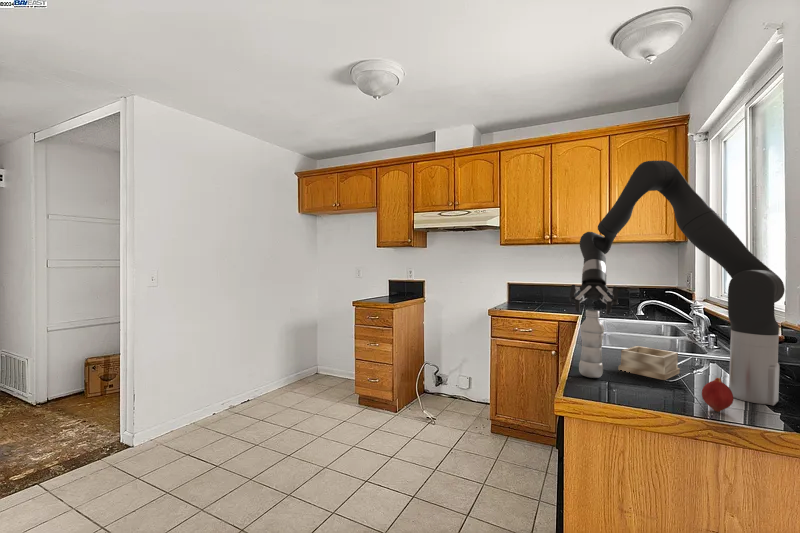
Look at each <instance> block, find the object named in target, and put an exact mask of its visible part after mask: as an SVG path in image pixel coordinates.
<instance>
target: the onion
mask: <svg viewBox="0 0 800 533" xmlns="http://www.w3.org/2000/svg"><path fill="white" fill-rule="evenodd" d="M701 396H702V400H703V401H704V403H705V404H707V405H708V406H709V407H710V408H711V409H712V410H713V411H715V412H722V411H724V410H725V409H727V408H729V407H731V406H732V405H733V402H734V397H733V394H732V391H731V390H730V388H729V385H727V384H726V383H724V382H723V381H722V379H721V378H720V377H715V379H714V380H712V381H710V382H707V383H705V384H704V386H703V387H702V390H701Z"/></svg>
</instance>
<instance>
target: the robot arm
mask: <svg viewBox="0 0 800 533" xmlns="http://www.w3.org/2000/svg"><path fill="white" fill-rule="evenodd" d="M655 191H656V192H659V193H660V194H661V195H662V196H663V197H664V198H665V199H666V200H667V201H668V203H669V204H670V205H671V207H672V208H673V212H674V213H673V214H674V218H675V222H676V224H677V227H678V228H679V230H680V232H682V234H683V235H684V236H685V237H686V238H687V239H688V240H689V241H690V243H691V244H692V245H693V246H694V247H696V249H698V250H699V251H700V252H702V253H703V254H705V255H706V256H707V257H709V258H710V259H712V260H713V261H715V262H716V263H717V264H719V265H720V266H721V267H722V268H723V269H724V270H725V272H726V273H727V274H728V275H729V276H730V278H731V279H730V281H729V283H728V289H727V314H728V316H727V317H728V320H729V322H730V345H729V347H730V350H729V351H730V352H729V372H728V373H729V375H728V376H729V377H728V378H729V379H728V381H729V382H728V387H729V388H730V390H731V391H732V394H733V399H737V400H740V401H743V402H744V401H745V402H748V403H754V404H758V405H759V404H760V405H770V406H773V407H774V406H775V405H776V404H777V403H778V402H779V394H780V392H779V390H780V388H779V387H780V363H778V362H779V341H780V340H779V338H780V337H779V336H780V335H779V334H780V325H779V323H778V322H777V320H776V317H775V303H777V302H779V301H780V300H782V298H783V297H784V294H785V291H786V290H785V288H786V287H785V284H784V282H783V280H782V279H781V277H780V276H779V275H777V274H776V273H775V272H774V271H773V270H771V268H769V267H768V266H767V265H765V263H763V262H762V260H760V259H759V258H758V257H756V256H755V255H754V254H753V253H752V252H751V251H750V250H749V249H748V248H747V247H746V245H745V244H744V242H742V240H741V239H740V238H739V237H738V235H737V234H735V232H734V231H733V230H732V229H731V227H729V225H728V224H727V223H726V222H725V221H724V220H723V218H721V216H720V215H719V214H718V213H717V212H716V211H715V210H714V209H713V208H712V207H710V205H709V204H708V203H707V202H706V201H705V200H704V199H703V198H702V197H701V196H700V195H699V194H698V193H697V192H696V191H695V190H694V189H693V188H692V186H691V185H690V184H689V183H688V181H687V180H686V178H685V177H684V176H683V174H682V173H681V172H680V170H679V169H678V168H677V166H676V165H675V164H674V163H672V162H670V161H668V160H662V159H659V160H647V161H643V162H641V163H639V164H638V165H637V167H635V169H634V170H633V172H632V173H631V176H630V177H629V179H628V181H627V183H626V184H625V187H624V188H623V190H622V191H621V193H620V194H619V196H618V198H617V200H616V201H615V203H614V204H613V206H612V207H611V208H610V209H609V211H608V212H607V213H606V214H605V216H604V217H603V218H602V219H601V221H600V222H598V225H597V231H598V233H596V232H593V231H586V232H585V233H583V234H582V235H581V237H580V239H579V249H580V252H581V254H582V257H583V266H582V267H583V268H582V273H581V285H580V286H576V285H575V284H572V285H570V286H571V287H570V290H569V302H570V303H574V310H575V311H576V313H580V309H581V308H580V307H581V303H582V302H584V301H586V300H596V301H597V300H598V301H599V300H600V301H601V302H602V303H604V304H606V311H605V312H606V315H608V316H609V315H610V314H612V307H613V306H618V305H619V292H618V287H617V286H613V287H610V288H609V287H608V286H607V267H606V263H607V262H606V261H607V260H606V259H607V258H606V255H607V253H609V252H610V250H611V247H612V245H613V243H614V240H615V239H616V237H617V236H618V234H619V233H620V232H621V231H622V229H623V228H624V227H625V226H626V225H627V224H628V222H629V221H630V219H631V217H632V214H633V211H634V208H635V206H636V204H637V202H638V201H639V200H640V199H641V198H642V197H643V196H645V195H646V193H649V192H655ZM578 292H579V294H578V295H577V296H576V294H577V293H578ZM608 293H609V294H610V295H611V296H612V298H611V297H610V296H609V295H608Z"/></svg>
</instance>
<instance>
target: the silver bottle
mask: <svg viewBox="0 0 800 533" xmlns="http://www.w3.org/2000/svg"><path fill="white" fill-rule="evenodd" d="M584 317H586V318H585V319H584V320H583V322H582V323H581V325H580V338H581V354H580V359H579V360H580V361H579V363H578V371H579V373H580V374H581V375H582V376H584V377H587V378H591V379H592V378H593V379H598V378H601V376H602V375H603V372H604V366H603V361H602V360H603V356H602V355H603V354H602V349H603V348H602V347H603V339H604V333H605V327H604V324H603V323H602V322H601V321H600V319H599V318H600V317H601V316H600V310H596V309H586V310H585V316H584Z"/></svg>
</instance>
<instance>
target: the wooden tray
mask: <svg viewBox="0 0 800 533" xmlns="http://www.w3.org/2000/svg"><path fill="white" fill-rule="evenodd" d="M620 351H621V354H620V355H621V356H620V364H619V365H618V371H620V370H622V371H621V372H624V371H626V373H629V372H630V374H635V375H639V376H644V377H648V378H653V379H657V380H661V381H666V380H668V379H670V378H673V377H675V376H676V375H679V374H680V373H681V372H680V370H681V368H679V367H678V360H679V358H678V357H679V352H676V351H671V350H665V349H658V348H651V347H646V346H641V345H634V346H631V347H627V348H624V349H622V350H620Z"/></svg>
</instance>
